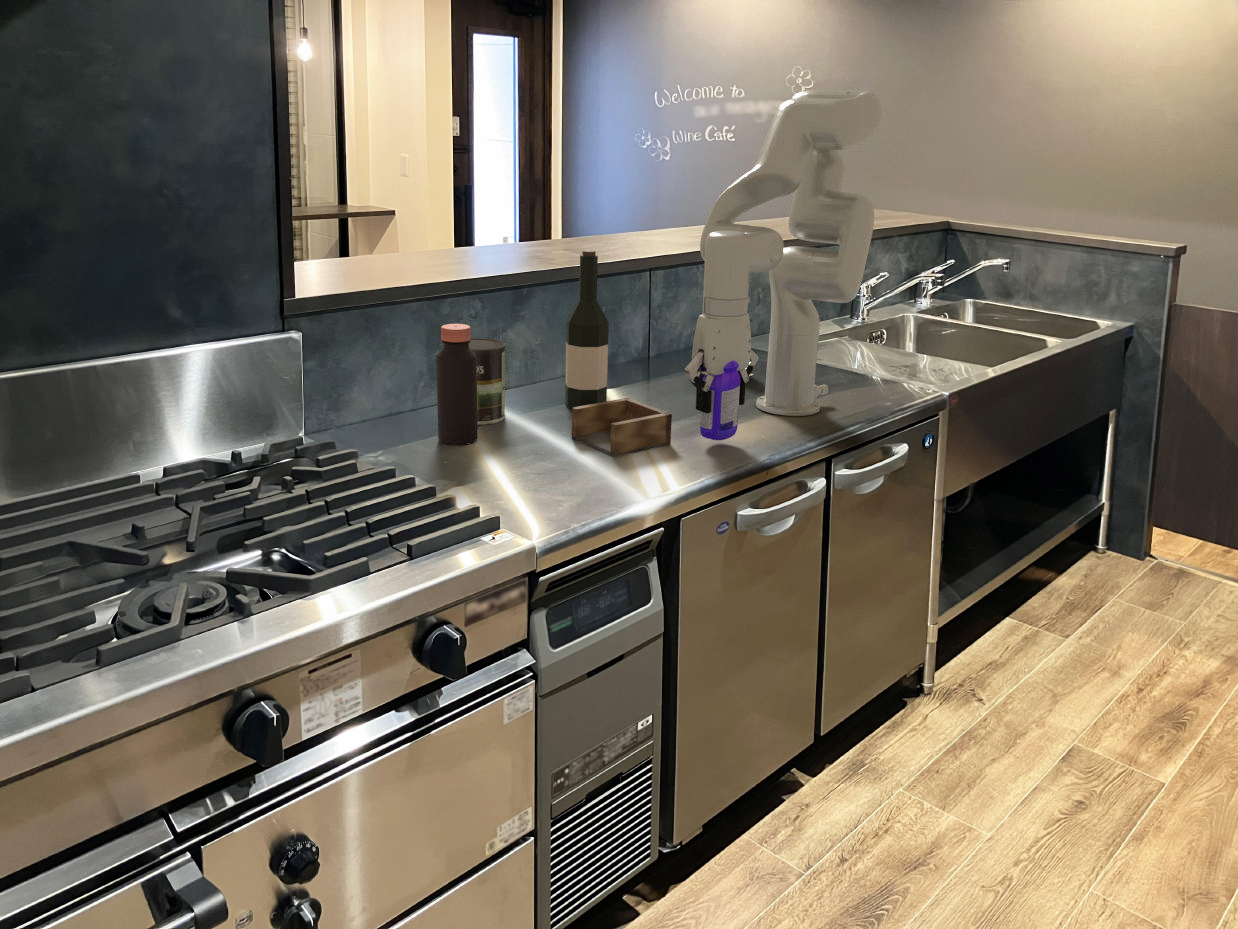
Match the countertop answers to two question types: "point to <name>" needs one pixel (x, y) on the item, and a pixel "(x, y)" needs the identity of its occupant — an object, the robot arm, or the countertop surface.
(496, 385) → the coffee can
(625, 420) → the u rest
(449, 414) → the vinegar
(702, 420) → the bottle
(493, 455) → the countertop surface
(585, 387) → the wine bottle
